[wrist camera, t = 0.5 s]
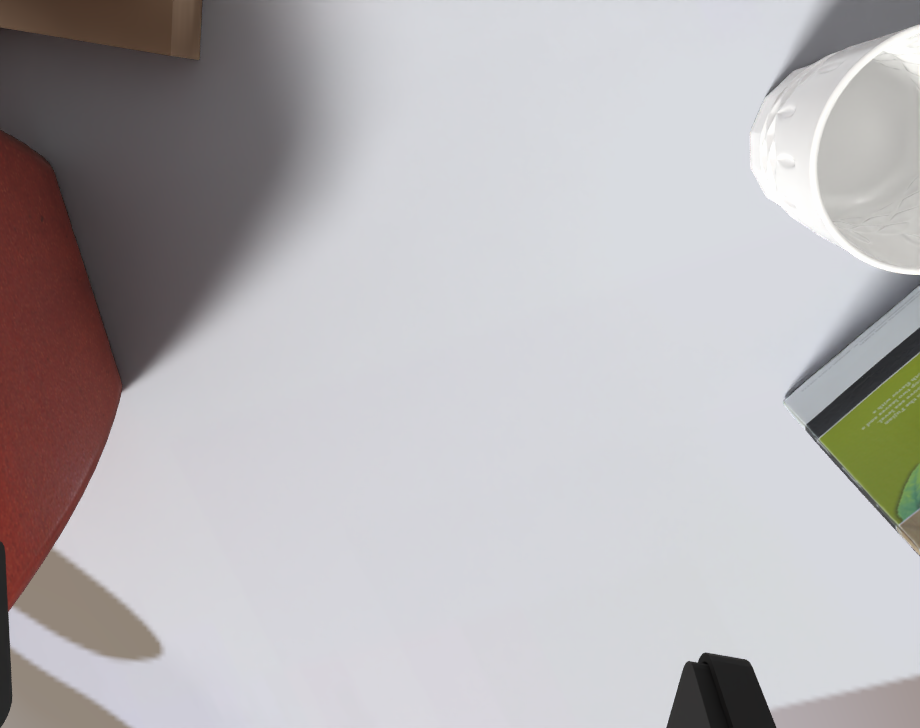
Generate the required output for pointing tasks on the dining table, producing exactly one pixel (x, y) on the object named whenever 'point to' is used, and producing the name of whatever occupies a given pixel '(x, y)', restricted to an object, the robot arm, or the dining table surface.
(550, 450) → the dining table surface
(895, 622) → the dining table surface
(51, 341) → the plant pot
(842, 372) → the tea box
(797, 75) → the white cup
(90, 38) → the board
